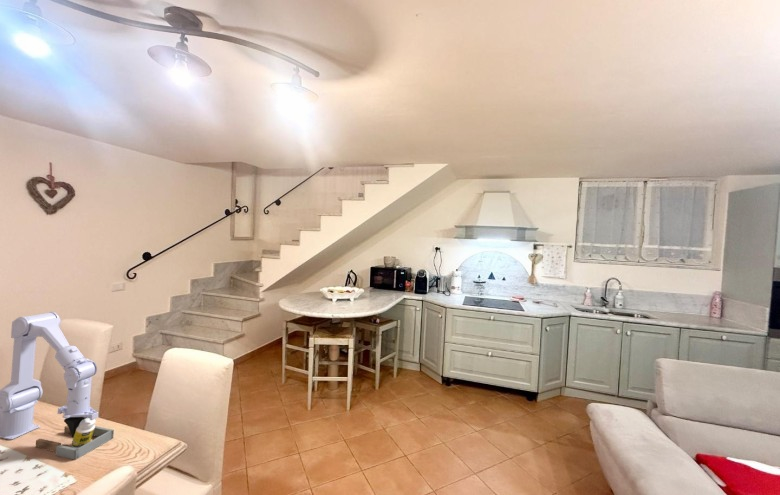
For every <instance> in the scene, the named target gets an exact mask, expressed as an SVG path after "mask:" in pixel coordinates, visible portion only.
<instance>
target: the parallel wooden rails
mask: <svg viewBox="0 0 780 495" xmlns="http://www.w3.org/2000/svg"><path fill="white" fill-rule="evenodd" d="M63 429H64V430H63V431H64V432H63V433H64V434H66V435H70V436H71V432H70V430H69V427H68V426H67V425H65V426H64V428H63ZM58 445H62V442H57V441H53V440H49V439H44V438H37V439H35V448H37V449H43V450H46V451H50V452H51V451H52V452H55V453H56V447H57V446H58Z"/></svg>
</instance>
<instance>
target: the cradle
mask: <svg viewBox="0 0 780 495" xmlns="http://www.w3.org/2000/svg"><path fill="white" fill-rule="evenodd" d="M114 432H115V431H114V429H111V428H106V427H101V426H97V425H95V429H94V431H93V434H92V437H93V436H94V437H96V438H94V439H91V440H90V442H88V443H87V444H85V445H83V446H81V447H79V448H73V447H72V446H67V445H62V444H61V445H58V446H57V447H56V452H55V456H56V457H62V458H66V459H70V460H75V461H76V460H78V459H80V458H81V457H83V456H85V455H86V454H88V453H90V452H92V451H93V450H95V449H97V448H99V447H100V446H102V445H103V444H105V443H107V442H109V441H111V440H112V439H114Z"/></svg>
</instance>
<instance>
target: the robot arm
mask: <svg viewBox="0 0 780 495" xmlns="http://www.w3.org/2000/svg"><path fill="white" fill-rule="evenodd" d="M61 320H62V319H61V317H60V315H58V313H57V312H55V311H49V312H45V313H39V314H33V315H25V316H19V317H17V318H15V319H14V320H13V321H12V322H11V331H10V338H11V339H13V345H12V348H13V349H12V360H11V361H12V362H11V364H12V365H11V376H10V382H9V383H8V384H6V385H5V386H3V387H2V388H1V389H0V439H1V438H2V439H5V440H9V441H10V440H11V441H12V440H14V439H16V438H18V437H21V436H23V435H25V434H27V433H29V432H31V431H34V430H37V429H39V428H40V427H41V425H39V424H34V417H35V415H34V414H35V405H37V404H38V400H40V399H41V398H42V396H43V394H44V393H43V392H44V390H43V387H42V382H41V381H40V380H38V379H35V378H34V373H35V372H34V371H35V370H34V369H35V360H36V359H35V358H36V344H37V343H36V342H37V337H41V338H42V339H44V340H45V341H46V342H47V343H48V344H49V345H50V346H51V348H52V349H54V351H55V352H56V353H55V355H54V358H55V359H56V361H57V363H58V364H59V365H60V366H61V367H62V368H63V370H64V371H65V373H63V378H64V380H65V386H66V388H67V400H66V405H62V406H60V407H58V408H57V415H58V414H59V415H61V414H63V415H62V419H63V422H64V423H65V425H66V426H68V427H69V430H70V432H71V435H70V436H71V438H72V439H73V438H74V435H75V432H76V429H77V427H78V426H79V424H80V422H81V421H82V420H83V419H86V418H90V420H94V419H95V420H96V419H97V418H99V411H97V410H95V409H94V408H93V407H91V394H92V382H93V381H92V379H93V376H95V375H96V374H97V371H98V366H97V364H96V362H95V361H94V360H91V359H90V358H86V357H85V356H84V355H83V353H82V352H81V351H80V349H79V348H78V347H77V346H76V345H71V344H70V343H69V340H68V339H67V338H66V337H65V334H64V333H63V331H62V329H61V328H60V326H61V323H62V321H61Z"/></svg>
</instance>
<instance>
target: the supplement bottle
mask: <svg viewBox="0 0 780 495" xmlns="http://www.w3.org/2000/svg"><path fill="white" fill-rule="evenodd" d="M95 426H96V419H94V420H90V418H86V419H83V420H82V421H81V422H80V424H79V426H78V427H77V429H76V432H75V435H74V438H72V440H71V444H70V445H71V446H70V447H72V448H76V449H78V448H79V447H81V446H83V445H85V444H87V443H88V442H90V441H92V437H93V436H92V435H93V431H94V429H95Z"/></svg>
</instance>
